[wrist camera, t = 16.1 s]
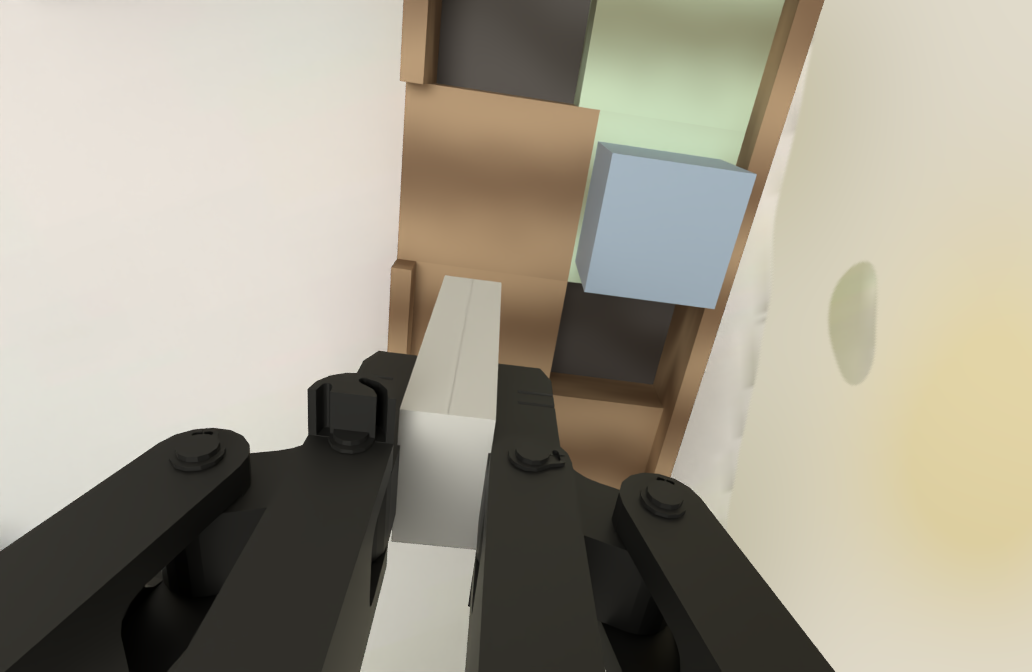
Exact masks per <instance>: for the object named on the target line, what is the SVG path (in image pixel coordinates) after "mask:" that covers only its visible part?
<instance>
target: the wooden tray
mask: <svg viewBox="0 0 1032 672" xmlns="http://www.w3.org/2000/svg"><path fill="white" fill-rule="evenodd" d="M823 3H824V0H404V2H403V24H402V45H401V67H400V81H405V82H406V95H405V115H404V135H403V155H402V175H401V194H400V214H399V234H398V254H397V260H396V261H395V263H394V264H393V266H392V267H391V285H390V307H389V328H388V350H387V352H392V353H401V354H409V355H417V356H418V354H419V351H420V348H421V345H422V342H423V339H424V336H425V333H426V330H427V327H428V324H429V321H430V318H431V315H432V312H433V309H434V306H435V303H436V300H437V297H438V294H439V291H440V288H441V285H442V283H443V280H444V277H445V275H447V276H454V277H462V278H470V279H477V280H485V281H493V282H501V307H500V331H499V355H498V363H499V364H507V365H515V366H524V367H532V368H540V369H541V370H542V371H543V372H544V373H545V374H546V376H547V377H548V378H549V379H550V380H551V383H552V390H553V397H554V405H555V406H554V408H555V412H556V419H557V426H558V433H559V441H560V447H561V448H563V449H564V450H565V451H566V452H567V453H568V455H569V457H570V459H571V462H572V466H573V469H574V470H575V471H577V472H578V473H580V474H581V475H583V476H585V477H586V478H589V479H591V480H593V481H596V482H598V483H601V484H604V485H607V486H610V487H613V488H616V489H619V490H620V487H621V483H622V482H623V481H624V480H625V479H626V478H628V477H629V476H630V475H634V474H639V473H655V474H661V475H664V476H667V477H670V476H671V473H672V470H673V467H674V464H675V461H676V458H677V455H678V451H679V448H680V445H681V442H682V439H683V436H684V433H685V430H686V427H687V424H688V421H689V417H690V414H691V411H692V408H693V405H694V402H695V399H696V396H697V393H698V390H699V387H700V383H701V380H702V377H703V374H704V371H705V368H706V365H707V362H708V359H709V356H710V352H711V349H712V346H713V343H714V340H715V337H716V334H717V331H718V328H719V325H720V322H721V318H722V315H723V312H724V309H725V306H726V303H727V300H728V297H729V294H730V291H731V288H732V284H733V281H734V278H735V275H736V272H737V269H738V266H739V263H740V260H741V257H742V254H743V250H744V247H745V244H746V241H747V238H748V235H749V232H750V229H751V226H752V223H753V220H754V216H755V213H756V210H757V207H758V204H759V201H760V198H761V195H762V192H763V189H764V186H765V182H766V179H767V176H768V173H769V170H770V167H771V164H772V161H773V158H774V155H775V152H776V148H777V145H778V142H779V139H780V136H781V133H782V130H783V127H784V124H785V121H786V118H787V114H788V111H789V108H790V105H791V102H792V99H793V96H794V93H795V90H796V87H797V83H798V80H799V77H800V74H801V71H802V68H803V65H804V62H805V59H806V56H807V53H808V49H809V46H810V43H811V40H812V37H813V34H814V31H815V28H816V25H817V22H818V19H819V15H820V12H821V9H822V6H823ZM598 141H600V142H607V143H613V144H620V145H627V146H634V147H640V148H647V149H654V150H661V151H667V152H674V153H681V154H687V155H694V156H701V157H708V158H714V159H721V160H723V161H726V162H728V163H731V164H733V165H735V166H738V167H740V168H743V169H745V170H748V171H750V172H753V173H755V174H757V176H756V179H755V182H754V185H753V189H752V192H751V195H750V198H749V201H748V204H747V208H746V211H745V214H744V217H743V220H742V224H741V227H740V230H739V233H738V236H737V239H736V243H735V246H734V249H733V252H732V255H731V258H730V262H729V265H728V268H727V271H726V274H725V278H724V281H723V284H722V287H721V290H720V293H719V297H718V300H717V303H716V306H715V309H709V308H702V307H694V306H687V305H679V304H672V303H664V302H657V301H649V300H642V299H634V298H627V297H619V296H611V295H604V294H596V293H589V292H584V289H583V286H582V283H581V279H580V276H579V273H578V270H577V266H576V263H575V259H576V254H577V248H578V243H579V238H580V233H581V228H582V222H583V217H584V212H585V207H586V202H587V196H588V191H589V186H590V181H591V175H592V170H593V165H594V160H595V155H596V149H597V144H598Z"/></svg>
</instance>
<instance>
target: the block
mask: <svg viewBox="0 0 1032 672" xmlns="http://www.w3.org/2000/svg"><path fill="white" fill-rule="evenodd" d="M756 176H757V174H755V173H753V172H750V171H748V170H745V169H743V168H740V167H738V166H735V165H733V164H731V163H728V162H726V161H723V160H721V159H714V158H708V157H701V156H694V155H687V154H681V153H674V152H667V151H661V150H654V149H647V148H640V147H634V146H627V145H620V144H613V143H607V142H600V141H598V144H597V149H596V155H595V160H594V165H593V170H592V175H591V181H590V186H589V191H588V196H587V202H586V207H585V212H584V217H583V222H582V228H581V233H580V238H579V243H578V248H577V254H576V259H575V263H576V266H577V270H578V273H579V276H580V279H581V283H582V286H583V289H584V292H589V293H596V294H604V295H611V296H619V297H627V298H634V299H642V300H649V301H657V302H664V303H672V304H679V305H687V306H694V307H702V308H709V309H715V306H716V303H717V300H718V297H719V293H720V290H721V287H722V284H723V281H724V278H725V274H726V271H727V268H728V265H729V262H730V258H731V255H732V252H733V249H734V246H735V243H736V239H737V236H738V233H739V230H740V227H741V224H742V220H743V217H744V214H745V211H746V208H747V204H748V201H749V198H750V195H751V192H752V189H753V185H754V182H755V179H756Z"/></svg>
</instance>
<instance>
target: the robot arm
mask: <svg viewBox="0 0 1032 672" xmlns="http://www.w3.org/2000/svg"><path fill="white" fill-rule="evenodd" d="M500 307H501V282H493V281H485V280H477V279H470V278H462V277H454V276H447V275H445V277H444V280H443V283H442V285H441V288H440V291H439V294H438V297H437V300H436V303H435V306H434V309H433V312H432V315H431V318H430V321H429V324H428V327H427V330H426V333H425V336H424V339H423V342H422V345H421V348H420V351H419V354H418V356H417V355H409V354H401V353H392V352H384V351H378V352H376V353H375V354H373V355H372V356H370V357H369V358H367V359H365V360H364V361H363V363H362V365H361V366H360V368H359V370H358V372H357V373H343V374H337V375H331V376H328V377H326V378H323V379H321V380H318V381H316V382H315V383H314V384H313V385H312V386H311V387H309V388H308V436H307V438H306V440H305V442H304V444H303V445H301V446H298V447H295V448H291V449H285V450H279V451H270V452H259V453H250V446H249V443H248V442H247V441H246V439H245V438H244V437H243V436H242V435H240V434H238V433H235V432H233V431H231V430H225V429H218V428H205V429H194V430H191V431H187V432H183V433H180V434H176V435H174V436H172V437H170V438H168V439H166V440H164V441H162V442H160V443H158V444H157V445H155V446H154V447H152V448H151V449H149V450H148V451H146V452H145V453H144V454H142V455H141V456H139V457H138V458H136V459H135V460H133V461H132V462H130V463H129V464H127V465H126V466H125V467H123V468H122V469H120V470H119V471H117V472H116V473H114V474H113V475H111V476H110V477H108V478H107V479H106V480H104V481H103V482H101V483H100V484H98V485H97V486H95V487H94V488H92V489H91V490H89V491H88V492H86V493H85V494H84V495H82V496H81V497H79V498H78V499H76V500H75V501H73V502H72V503H70V504H69V505H67V506H66V507H65V508H63V509H62V510H60V511H59V512H57V513H56V514H54V515H53V516H51V517H50V518H48V519H47V520H46V521H44V522H43V523H41V524H40V525H38V526H37V527H35V528H34V529H32V530H31V531H29V532H28V533H26V534H25V535H24V536H22V537H21V538H19V539H18V540H16V541H15V542H13V543H12V544H10V545H9V546H7V547H6V548H5V549H3V550H2V551H0V672H360V669H361V665H362V661H363V657H364V653H365V650H366V646H367V642H368V638H369V634H370V630H371V626H372V622H373V618H374V614H375V610H376V606H377V602H378V598H379V594H380V590H381V586H382V582H383V578H384V574H385V570H386V565H387V548H388V541H389V537H390V534H391V530H392V542H402V543H413V544H423V545H433V546H444V547H454V548H464V549H475V550H476V556H475V563H474V570H473V576H472V583H471V590H470V597H469V604H468V606H469V607H470V616H469V629H468V642H467V654H466V667H465V672H605V669H606V672H835V671H834V670H833V668H832V667H831V666H830V664H829V663H828V662H827V661H826V659H825V658H824V657H823V655H822V654H821V653H820V652H819V650H818V649H817V648H816V646H815V645H814V644H813V643H812V641H811V640H810V639H809V637H808V636H807V635H806V633H805V632H804V631H803V630H802V628H801V627H800V626H799V624H798V623H797V622H796V621H795V619H794V618H793V617H792V615H791V614H790V613H789V612H788V610H787V609H786V608H785V606H784V605H783V604H782V603H781V601H780V600H779V599H778V597H777V596H776V595H775V593H774V592H773V591H772V590H771V588H770V587H769V586H768V584H767V583H766V582H765V581H764V580H763V578H762V577H761V575H760V574H759V573H758V572H757V570H756V569H755V568H754V566H753V565H752V564H751V563H750V561H749V560H748V559H747V557H746V556H745V555H744V554H743V552H742V551H741V550H740V549H739V547H738V546H737V545H736V543H735V542H734V541H733V539H732V538H731V537H730V535H729V534H728V533H727V532H726V530H725V529H724V528H723V526H722V525H721V524H720V523H719V521H718V520H717V519H716V517H715V516H714V515H713V513H712V512H711V511H710V510H709V508H708V507H707V506H706V504H705V503H704V502H703V501H702V499H701V498H700V497H699V496H698V495H697V494H696V493H695V492H694V491H693V490H692V489H691V488H689V487H688V486H686V485H684V484H683V483H681V482H679V481H677V480H676V479H673V478H670V477H667V476H664V475H661V474H655V473H639V474H634V475H630V476H629V477H628V478H626V479H625V480H624V481H623V482H622V483H621V487H620V490H619V489H616V488H613V487H610V486H607V485H604V484H601V483H598V482H596V481H593V480H591V479H589V478H586V477H585V476H583V475H581V474H580V473H578V472H577V471H575V470H574V469H573V466H572V462H571V459H570V457H569V455H568V453H567V452H566V451H565V450H564V449H563V448H561V447H560V441H559V433H558V426H557V419H556V412H555V408H554V406H555V405H554V397H553V390H552V383H551V380H550V379H549V378H548V377H547V376H546V374H545V373H544V372H543V371H542V370H541V369H540V368H532V367H524V366H515V365H507V364H499V363H498V355H499V331H500Z"/></svg>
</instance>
